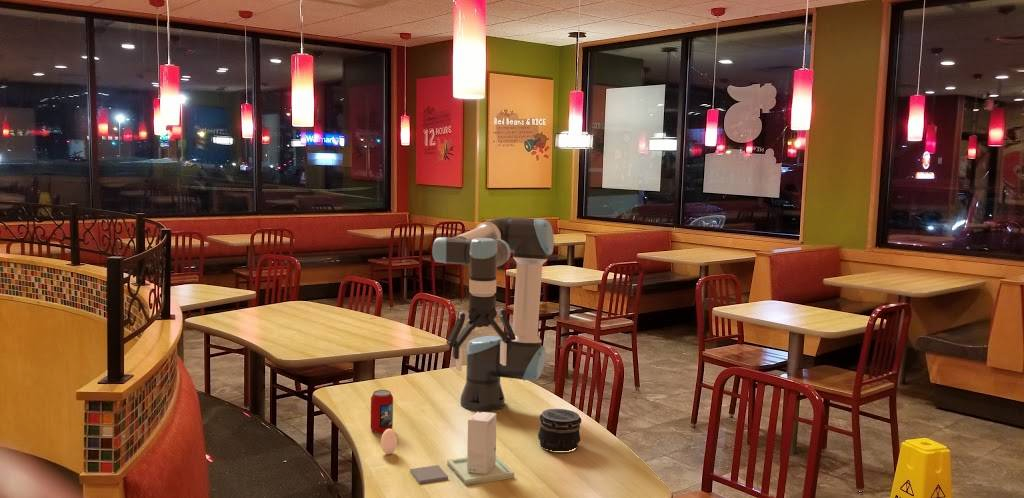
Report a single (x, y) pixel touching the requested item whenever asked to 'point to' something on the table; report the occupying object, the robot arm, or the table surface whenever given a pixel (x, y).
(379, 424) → the beverage can
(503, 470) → the tray
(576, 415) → the container
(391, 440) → the egg
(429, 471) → the pad
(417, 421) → the table surface
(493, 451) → the skincare box
